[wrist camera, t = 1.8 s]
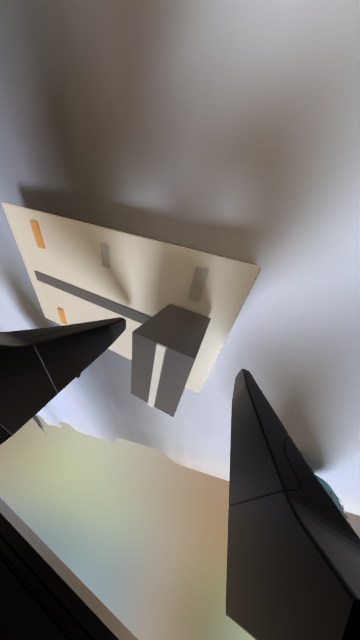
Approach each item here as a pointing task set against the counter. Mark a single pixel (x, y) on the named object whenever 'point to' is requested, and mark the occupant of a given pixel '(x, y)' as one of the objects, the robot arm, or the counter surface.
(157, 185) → the counter surface
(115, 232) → the panel
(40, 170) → the counter surface
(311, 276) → the counter surface
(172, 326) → the block
